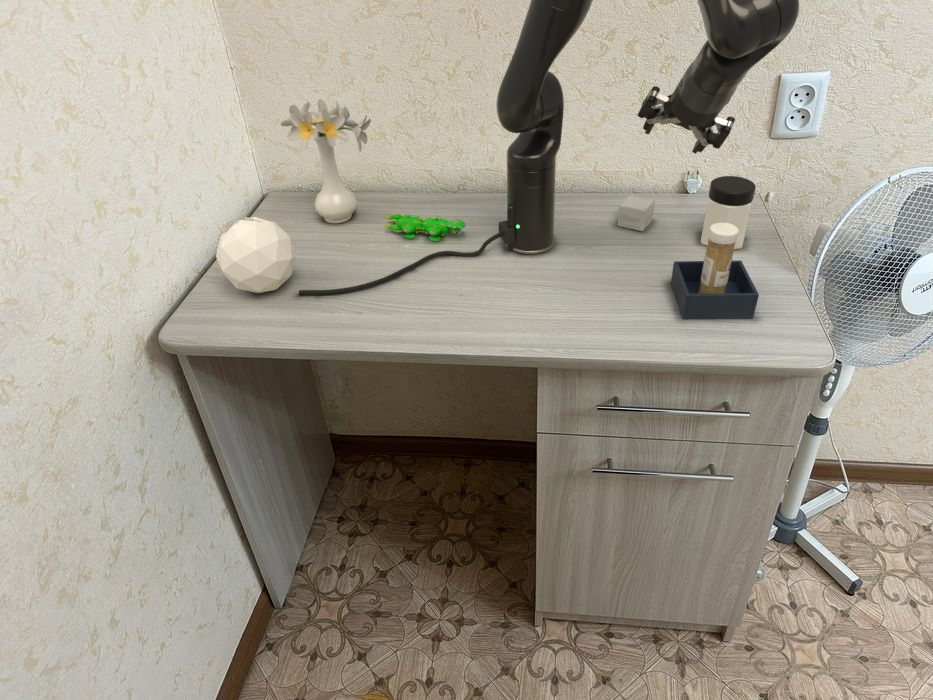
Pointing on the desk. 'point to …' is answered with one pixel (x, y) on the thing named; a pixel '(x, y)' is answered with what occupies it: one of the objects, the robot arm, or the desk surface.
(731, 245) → the sprinkles bottle
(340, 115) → the flower vase
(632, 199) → the small box
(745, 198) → the jar
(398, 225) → the crocodile figurine
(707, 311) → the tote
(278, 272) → the geodesic sphere
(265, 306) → the desk surface
